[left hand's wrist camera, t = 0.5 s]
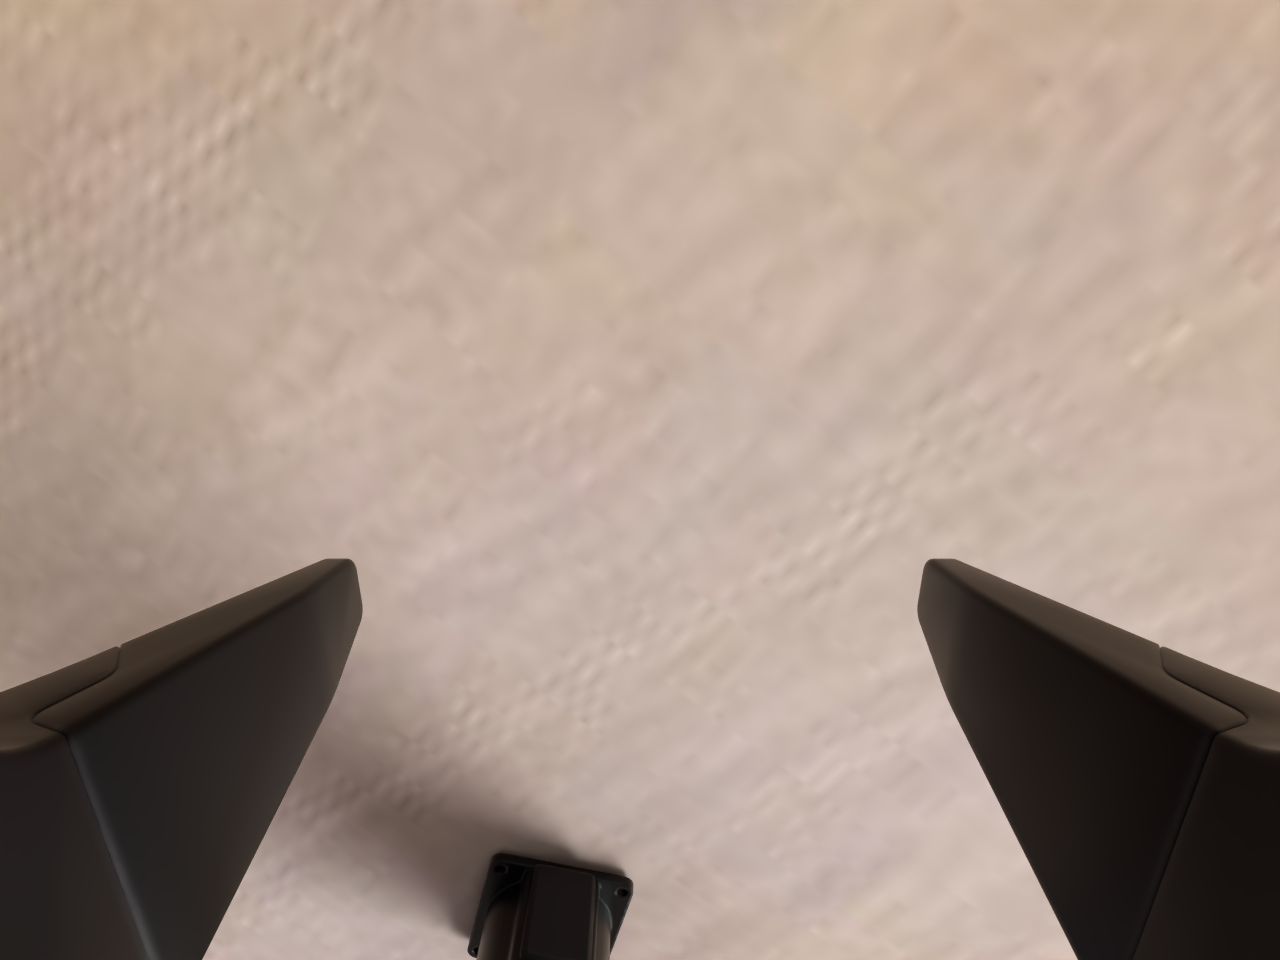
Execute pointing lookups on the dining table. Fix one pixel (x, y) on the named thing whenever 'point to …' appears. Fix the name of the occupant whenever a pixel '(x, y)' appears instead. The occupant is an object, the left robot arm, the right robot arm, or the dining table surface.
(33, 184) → the dining table surface
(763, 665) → the dining table surface
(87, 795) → the left robot arm
